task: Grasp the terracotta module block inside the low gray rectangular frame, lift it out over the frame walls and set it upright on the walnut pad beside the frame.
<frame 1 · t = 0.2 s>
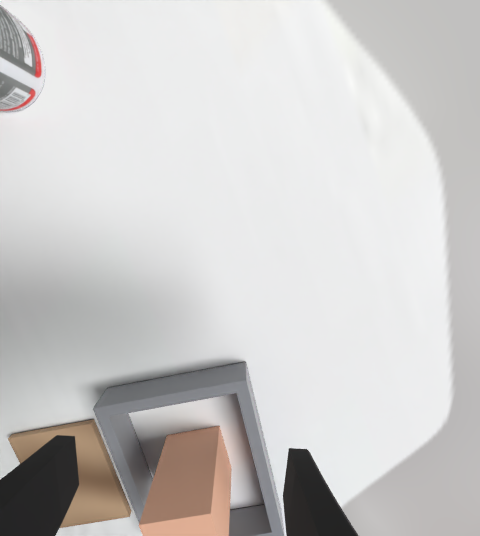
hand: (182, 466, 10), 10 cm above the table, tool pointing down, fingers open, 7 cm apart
walnut pad: (74, 474, 22), on the table
module block: (199, 451, 22), resting in gray rectangular frame
gray rectangular frame: (199, 452, 22), on the table
pill bottle: (6, 66, 16), on the table
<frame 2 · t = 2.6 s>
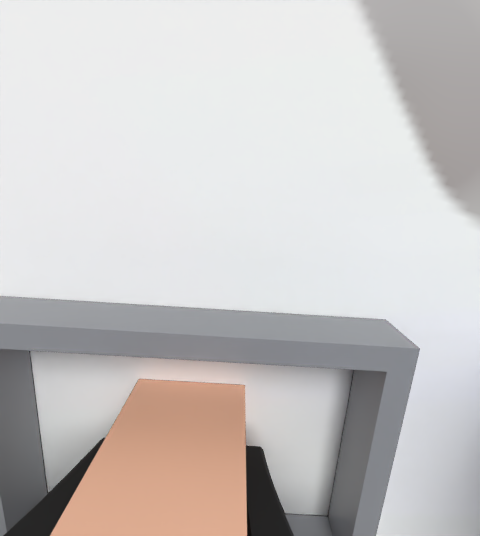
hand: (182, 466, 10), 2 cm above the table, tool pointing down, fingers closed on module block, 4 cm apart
module block: (190, 426, 11), resting in gray rectangular frame, touching gripper
gray rectangular frame: (190, 426, 11), on the table
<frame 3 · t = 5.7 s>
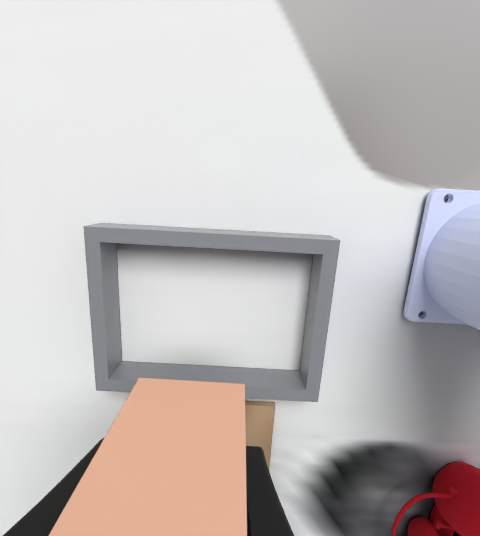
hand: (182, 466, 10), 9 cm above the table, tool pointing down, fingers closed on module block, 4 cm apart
alarm clock: (471, 506, 23), on the table
walnut pad: (208, 437, 21), on the table
module block: (190, 425, 11), point 8 cm above the table, touching gripper
gray rectangular frame: (212, 307, 18), on the table
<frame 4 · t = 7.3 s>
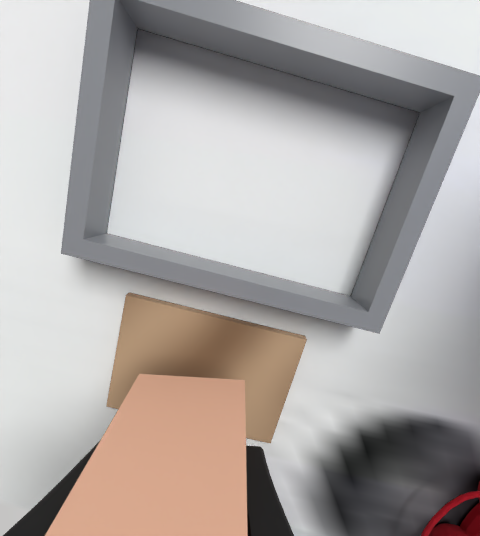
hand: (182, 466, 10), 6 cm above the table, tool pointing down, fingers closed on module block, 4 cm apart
walnut pad: (204, 369, 15), on the table
module block: (191, 421, 11), point 4 cm above the table, touching gripper
gray rectangular frame: (255, 176, 13), on the table
when the fingers open (4 cm above the table, at t = 8.6 s): module block drops 1 cm, resting on walnut pad.
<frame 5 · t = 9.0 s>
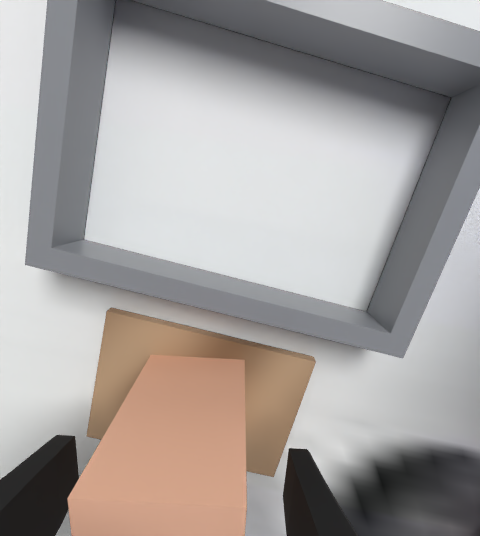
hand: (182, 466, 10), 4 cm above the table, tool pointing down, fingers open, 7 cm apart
walnut pad: (198, 394, 13), on the table
module block: (196, 397, 13), resting on walnut pad
gray rectangular frame: (256, 172, 11), on the table
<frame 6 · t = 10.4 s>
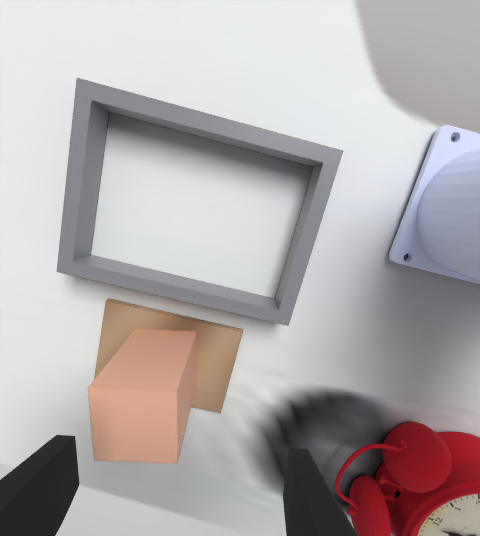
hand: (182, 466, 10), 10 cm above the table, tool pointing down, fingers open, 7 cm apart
alarm clock: (416, 473, 23), on the table
walnut pad: (167, 356, 20), on the table
module block: (166, 357, 19), resting on walnut pad
gray rectangular frame: (198, 212, 17), on the table
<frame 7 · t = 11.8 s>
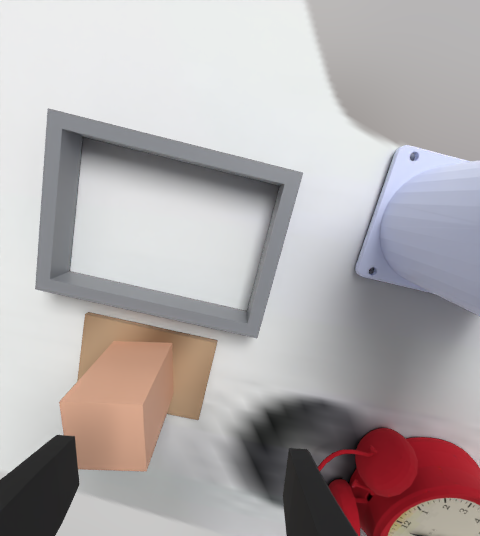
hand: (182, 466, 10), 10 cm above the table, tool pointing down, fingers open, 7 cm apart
alarm clock: (391, 477, 23), on the table
walnut pad: (146, 366, 20), on the table
module block: (144, 367, 20), resting on walnut pad
gray rectangular frame: (170, 230, 18), on the table
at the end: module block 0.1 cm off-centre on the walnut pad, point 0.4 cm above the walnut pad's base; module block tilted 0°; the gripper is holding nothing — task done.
